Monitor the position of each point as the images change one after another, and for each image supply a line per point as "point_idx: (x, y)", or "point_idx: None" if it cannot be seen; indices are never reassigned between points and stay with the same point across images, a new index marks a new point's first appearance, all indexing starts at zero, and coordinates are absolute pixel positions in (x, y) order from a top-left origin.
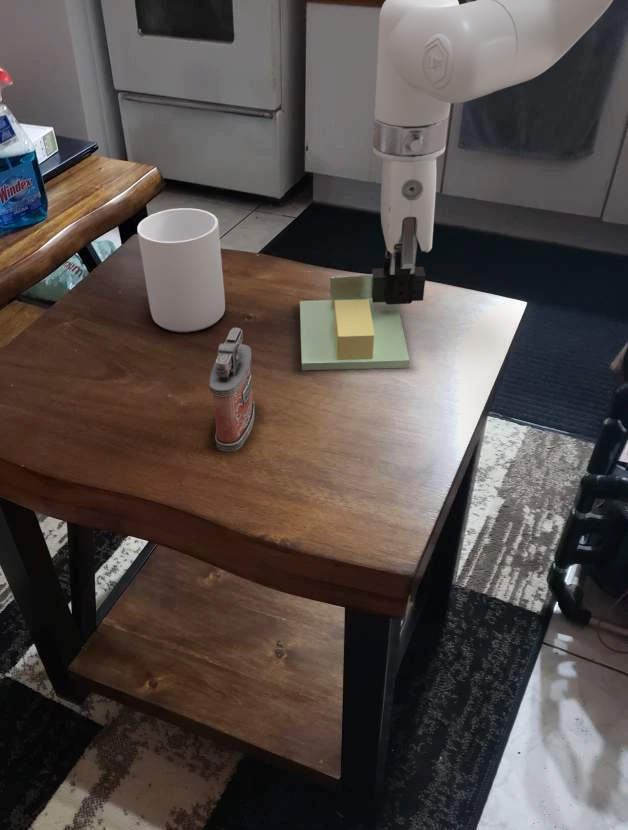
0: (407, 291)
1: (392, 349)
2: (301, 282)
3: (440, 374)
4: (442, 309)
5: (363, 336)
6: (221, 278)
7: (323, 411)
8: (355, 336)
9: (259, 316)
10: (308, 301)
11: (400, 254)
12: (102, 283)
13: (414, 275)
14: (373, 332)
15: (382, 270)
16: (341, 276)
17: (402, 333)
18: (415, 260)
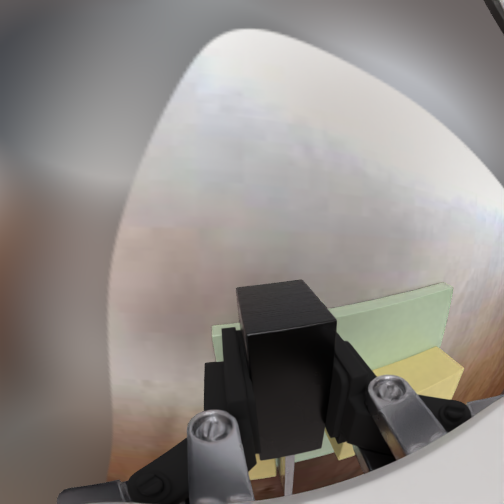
0: (355, 351)
1: (425, 320)
2: (147, 461)
3: (461, 227)
4: (228, 197)
5: (457, 382)
6: None
7: (471, 365)
8: (453, 392)
9: (265, 484)
10: None
11: (250, 448)
12: None
13: (362, 366)
14: (457, 372)
15: (276, 443)
16: (290, 487)
17: (384, 309)
18: (429, 410)
